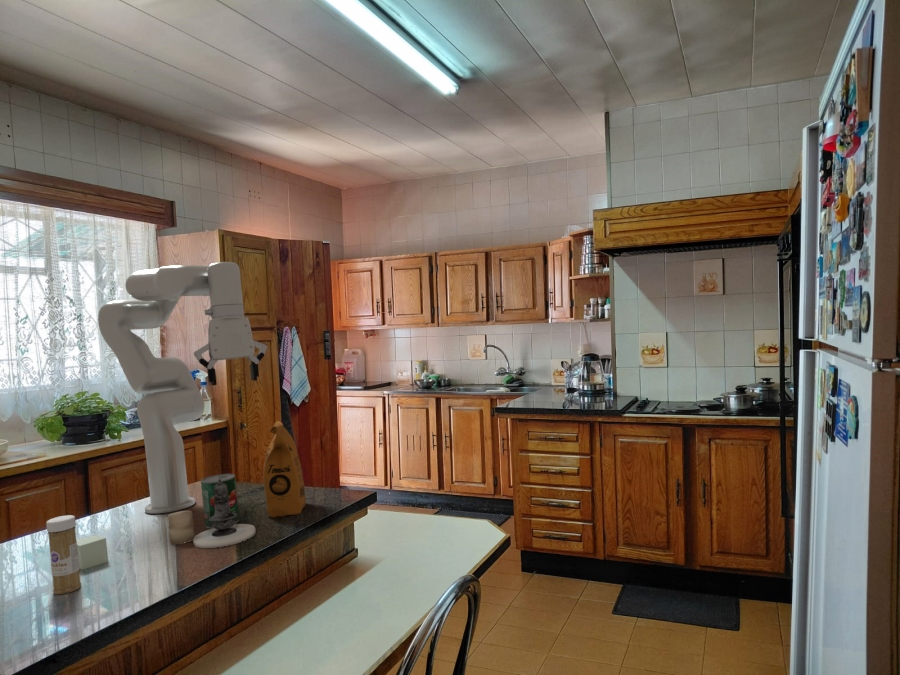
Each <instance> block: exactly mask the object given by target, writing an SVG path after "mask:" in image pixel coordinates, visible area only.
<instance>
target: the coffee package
mask: <svg viewBox="0 0 900 675" xmlns="http://www.w3.org/2000/svg"><path fill="white" fill-rule="evenodd" d="M269 432H270V433H271V434H274V436H273V438H272V439H271V441H270V442H269V446H268V448H267V450H266V455H265V458H264V459H265V460H264V463H263V464H264V465H263V472H262V474H263V475H262V476H263V477H262V478H263V489H264V495H265V502H266V510H267V511H266V512H267V514H268V516H270V517H271V518H275V517H281V518H283V517H286V516H293V515H300V514H301V513H302V511H303V509H305V506H306V493H305V490H306V489H305V482H304V478H303V477H304V475H303V471H302V464H301V461H300V457H299V453H298V449H297V445H296V442H295V440H294V439H293V436H292V435H291V434H290V433H289V432H288V430H287V429H286V428H285V427H284V424H283V422H281V421H280V420H277V421H276V422H274V423H273V426H272V428H271V429H270V431H269Z"/></svg>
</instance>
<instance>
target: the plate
mask: <svg viewBox="0 0 900 675" xmlns="http://www.w3.org/2000/svg"><path fill="white" fill-rule="evenodd" d="M231 527H233V528H235V529H237V531H236V532H235V533H233V534H230V535H227V536H220V537H215V536H212V533H213V532H214V531H216V530H218V529H215V528H208V529H206V530H204V531H201V532H199V533H198V534H196V535H194V538H193V540H192V543H193V546H194V545H195V547H196V548H198V547H199V548H198V549H217V547H219V548H223V547H224V546H225V547H229V545H230V546H233V544H234V545H237V544H240V543H243V542H245V541H247V539H248V540H250V539H251V538H252V537H254V536H255V535H256V527H255V525H253V524H250V523H235V524H233V526H231ZM242 541H243V542H242ZM225 547H224V548H225Z"/></svg>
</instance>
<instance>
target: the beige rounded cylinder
mask: <svg viewBox="0 0 900 675" xmlns="http://www.w3.org/2000/svg"><path fill="white" fill-rule="evenodd" d="M167 521H168V522H167V523H168V534H169V543H171V545H174V544H177V545H181V544H180V543H183V544H185V543H184V542H187V543H189V542H188V541H190V540H192V539H193V538H194V537H195V529H194V519H193V512H192V510H178V511H174V512H171V513H170V514H168V515H167ZM192 541H193V540H192ZM190 542H191V541H190Z"/></svg>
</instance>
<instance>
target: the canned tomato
mask: <svg viewBox="0 0 900 675" xmlns="http://www.w3.org/2000/svg"><path fill="white" fill-rule="evenodd" d="M219 479H220V480H221V482H222V483H225V484H226V485H227V490H228V497H229V498H230V499H229V508H230V511H231V512H232V513H236V514H237V516H236V520H235V523H234V524H238V522H240V516H239V513H240V512H239V503H238V495H237V494H238V493H237V492H238V491H237V484H236V474H234V473H222V474H215V475H210V476H206V477H203V478H202V479H201V480H200V484H201V487H200V488H201V489H200V490H201V497H202V507H203V508H202V509H203V518H204V519H203V520H204V527H205V528H206V527H208V528H207V529H212V528H214V527H213V526H212V525H211V521H209V518H210V517H212V516H213V515H214V514H215V504H214V502H213V500H214V486H215V485H216V484H218V483H219Z"/></svg>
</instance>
